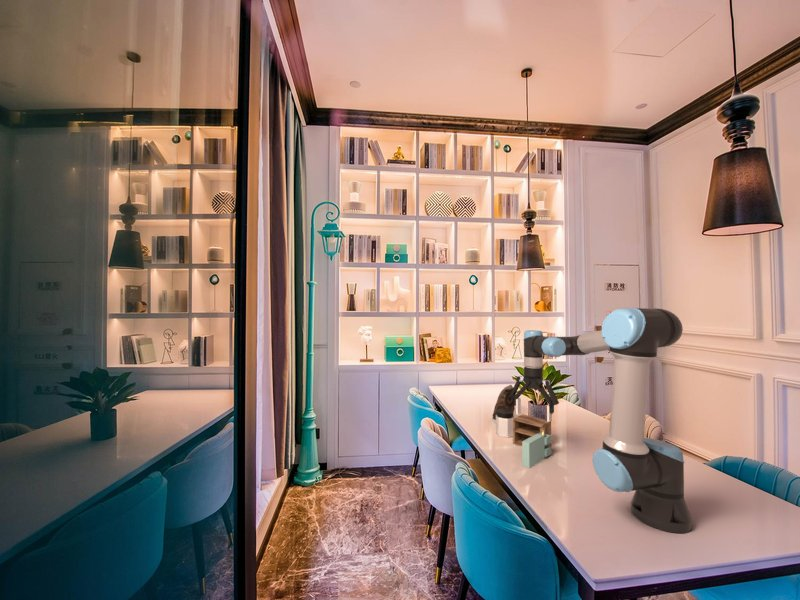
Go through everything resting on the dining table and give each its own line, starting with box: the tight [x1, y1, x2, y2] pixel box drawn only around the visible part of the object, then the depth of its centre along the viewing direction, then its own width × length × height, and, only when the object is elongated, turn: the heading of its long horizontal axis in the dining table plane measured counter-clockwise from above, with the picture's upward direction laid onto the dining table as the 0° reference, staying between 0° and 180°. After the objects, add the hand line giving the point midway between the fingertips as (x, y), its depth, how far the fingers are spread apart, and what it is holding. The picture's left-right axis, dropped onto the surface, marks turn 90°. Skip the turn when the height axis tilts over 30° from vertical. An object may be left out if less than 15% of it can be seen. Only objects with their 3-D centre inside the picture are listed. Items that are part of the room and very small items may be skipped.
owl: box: [492, 384, 516, 421], centre depth 202 cm, size 13×13×20 cm
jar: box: [495, 409, 514, 438], centre depth 179 cm, size 9×8×12 cm
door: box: [521, 433, 552, 469], centre depth 148 cm, size 19×5×10 cm, turn 134°
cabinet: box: [512, 413, 552, 448], centre depth 165 cm, size 10×14×12 cm
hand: (533, 417), depth 147 cm, fingers open, 13 cm apart
